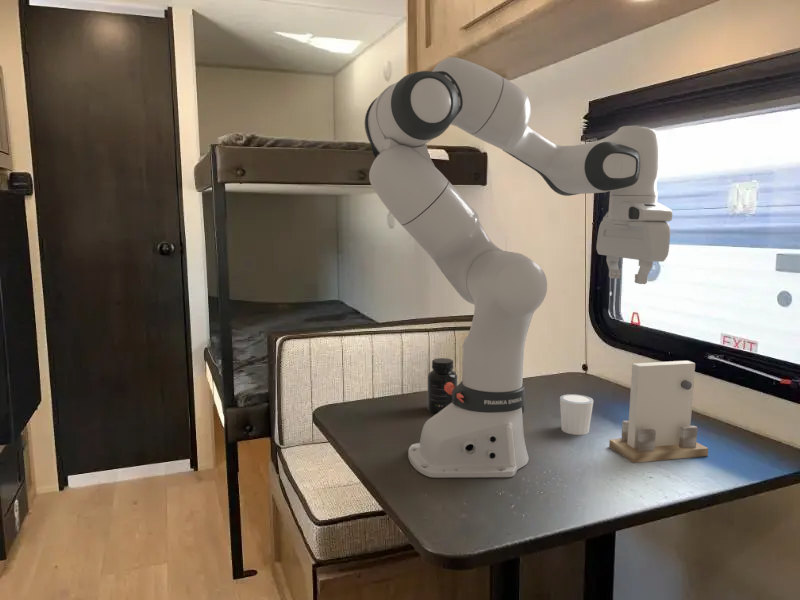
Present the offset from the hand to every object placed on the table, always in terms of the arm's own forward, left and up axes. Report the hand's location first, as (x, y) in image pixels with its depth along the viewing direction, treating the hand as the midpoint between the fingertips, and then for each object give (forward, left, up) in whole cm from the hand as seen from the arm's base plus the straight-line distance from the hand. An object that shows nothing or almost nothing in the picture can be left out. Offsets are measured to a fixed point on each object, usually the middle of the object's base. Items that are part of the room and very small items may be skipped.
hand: (627, 280), depth 124 cm
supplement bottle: (-31, +22, -33) cm, 50 cm away
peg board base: (+3, -10, -32) cm, 34 cm away
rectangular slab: (+3, -10, -31) cm, 32 cm away
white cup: (-7, +4, -33) cm, 34 cm away
